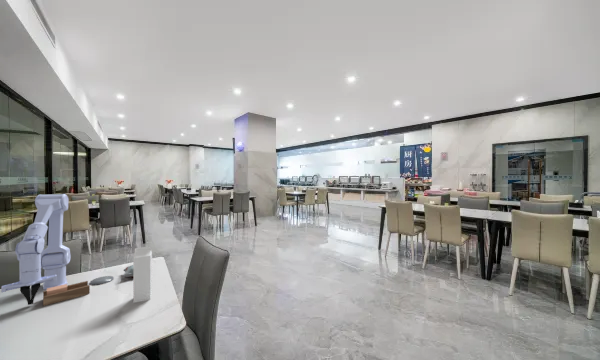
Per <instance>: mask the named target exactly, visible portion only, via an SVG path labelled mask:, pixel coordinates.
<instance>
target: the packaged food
mask: <svg viewBox="0 0 600 360" xmlns="http://www.w3.org/2000/svg"><path fill="white" fill-rule="evenodd" d="M123 272H124V273H123V274H122V277H125V278H131V277H133V264H132V265H128V266H126V267H125V268H124V269H123Z"/></svg>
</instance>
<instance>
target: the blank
mask: <svg viewBox="0 0 600 360" xmlns="http://www.w3.org/2000/svg"><path fill="white" fill-rule="evenodd" d="M67 286H68V284H64V285H60V286H56V287H51V288H47V289H46V290H47V295H51V294H55V293H59V292H63V291H67Z"/></svg>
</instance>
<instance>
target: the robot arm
mask: <svg viewBox="0 0 600 360" xmlns="http://www.w3.org/2000/svg"><path fill="white" fill-rule="evenodd" d="M69 201H70V200H69V196H68V195H67V194H66V193H61V194H60V193H59V194H57V193H56V194H55V193H54V194H53V193H52V194H41V193H40V194H38V195H36V196H35V199H34V204H35V207H36V209H37V212H36V215H35V218H34V221H33V223H31V224H29V225H28V226H27V229H26V231H25V234H24V235H23V239H22V240H21V241H20V242H17V243H16V246H15V250H14V251H15V255H16V259H17V261H18V262H19V263H18V265H19V281H16V282H13V283H8V284H5V285H1V289H0V290H1V293H5V292H7V291H11V290H16V289H19V291H20V293H21V295H23V297H25V300H26V302H27V306H29V305H34V301H35V297H36V295H37V293H38V291H39V289H40V287H41V284H42V285H43V286H42V288H43V289H42V290H43V291H46V290H47V288H51V287H56V286H60V285H64V284H67V285H69V284H68V283H69V282H68V279H67V266H68V264H70V262H71V259H72V258H71V257H72V255H71V249H70V247H67V246H66V245H63V232H64V231H63V230H64V214H65V213H64V212H66V211H68V210H69ZM47 223H48V225H47ZM47 231H48V236H47V237H48V239H47V247H46V248H45V241H46V240H45V236H46V234H47ZM42 270H44V274H43V275H44V276H42Z"/></svg>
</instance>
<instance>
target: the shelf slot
mask: <svg viewBox="0 0 600 360" xmlns="http://www.w3.org/2000/svg"><path fill="white" fill-rule="evenodd" d="M42 292H43V297H42V298H43V300H42V301H43V302H42V304H43V305H42V306H43V307H45V306H49V305H52V304H56V303H60V302H64V301H68V300H72V299H76V298H78V297H82V296H86V295H90V285H89V280H85V281H81V282H77V283H72V284H67V291H63V292H59V293H55V294H51V295H47V289H46V290H43V291H42Z"/></svg>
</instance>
